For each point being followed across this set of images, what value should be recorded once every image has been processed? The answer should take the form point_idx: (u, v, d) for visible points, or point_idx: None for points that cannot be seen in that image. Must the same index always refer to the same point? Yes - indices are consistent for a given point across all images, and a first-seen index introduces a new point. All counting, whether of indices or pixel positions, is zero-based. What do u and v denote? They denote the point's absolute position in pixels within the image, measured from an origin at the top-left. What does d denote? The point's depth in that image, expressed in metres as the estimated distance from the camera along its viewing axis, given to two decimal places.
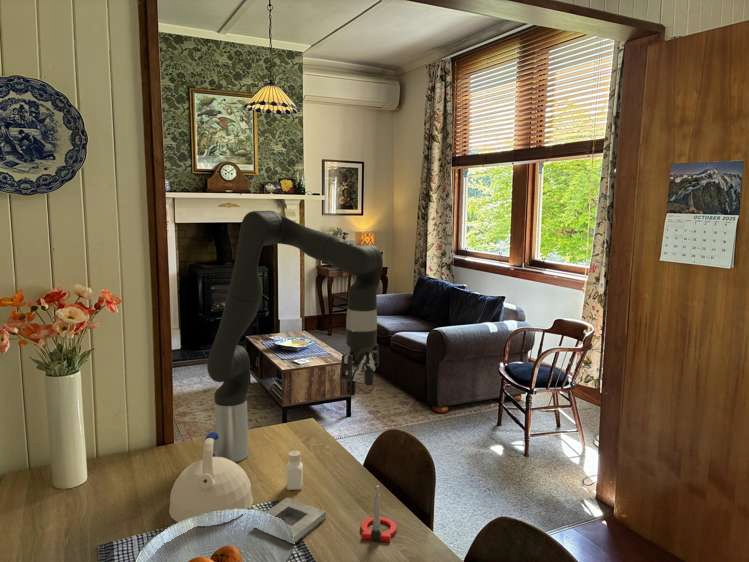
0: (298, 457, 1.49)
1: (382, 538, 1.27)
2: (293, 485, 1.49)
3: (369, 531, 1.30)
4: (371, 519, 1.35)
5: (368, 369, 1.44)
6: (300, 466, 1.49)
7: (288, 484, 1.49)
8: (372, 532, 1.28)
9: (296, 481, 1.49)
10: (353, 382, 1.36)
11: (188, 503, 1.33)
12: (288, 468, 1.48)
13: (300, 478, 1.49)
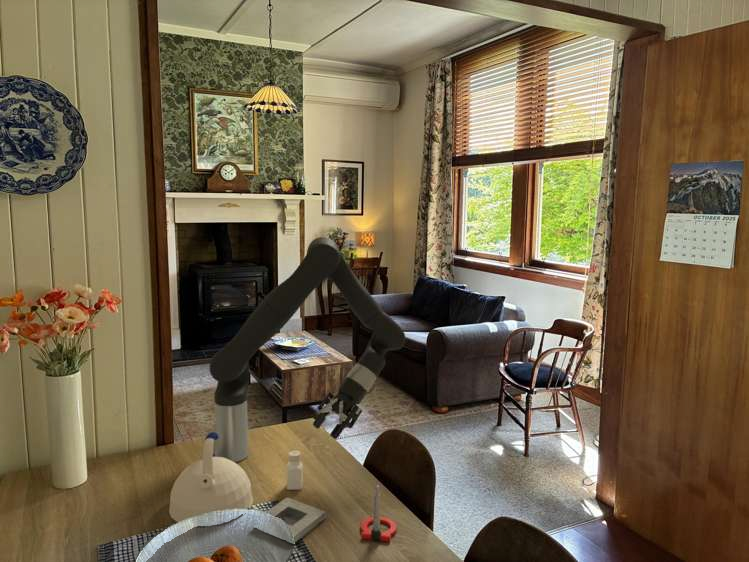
0: (298, 457, 1.49)
1: (382, 538, 1.27)
2: (293, 485, 1.49)
3: (369, 531, 1.30)
4: (371, 519, 1.35)
5: (323, 414, 1.60)
6: (300, 466, 1.49)
7: (288, 484, 1.49)
8: (372, 532, 1.28)
9: (296, 481, 1.49)
10: None
11: (188, 503, 1.33)
12: (288, 468, 1.48)
13: (300, 478, 1.49)
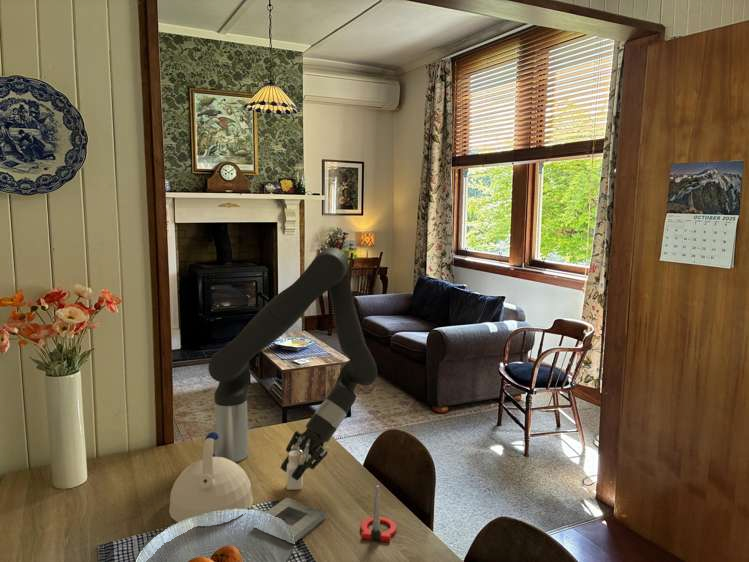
0: (298, 457, 1.49)
1: (382, 538, 1.27)
2: (293, 485, 1.49)
3: (369, 531, 1.30)
4: (371, 519, 1.35)
5: None
6: None
7: (288, 484, 1.49)
8: (372, 532, 1.28)
9: (296, 481, 1.49)
10: None
11: (188, 503, 1.33)
12: (288, 468, 1.48)
13: (300, 478, 1.49)
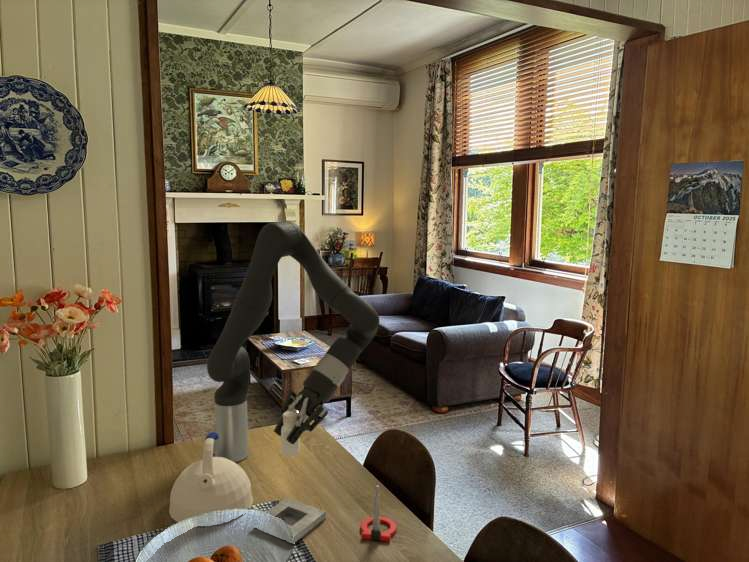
0: (294, 418, 1.29)
1: (382, 538, 1.27)
2: (288, 450, 1.30)
3: (369, 531, 1.30)
4: (371, 519, 1.35)
5: None
6: None
7: (283, 449, 1.30)
8: (372, 532, 1.28)
9: (292, 445, 1.29)
10: None
11: (188, 503, 1.33)
12: (283, 431, 1.29)
13: (297, 442, 1.30)
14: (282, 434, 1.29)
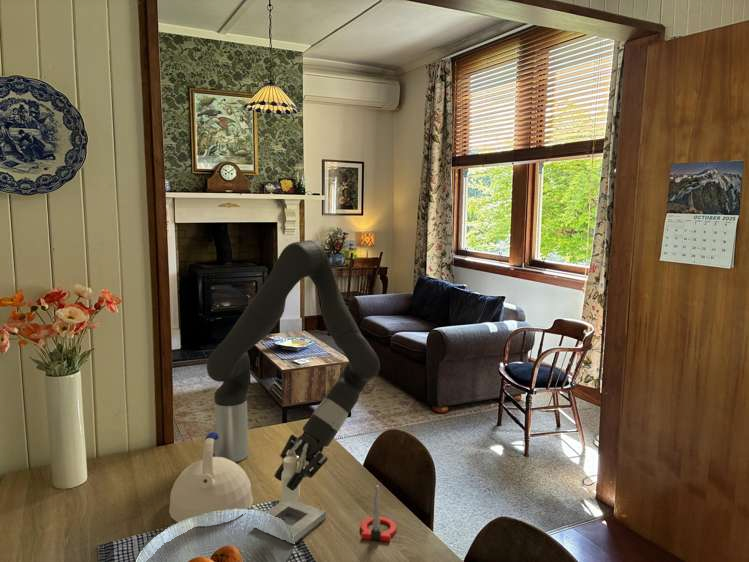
0: (294, 464, 1.31)
1: (382, 538, 1.28)
2: (288, 496, 1.31)
3: (369, 531, 1.30)
4: (371, 519, 1.35)
5: None
6: None
7: (283, 495, 1.31)
8: (372, 532, 1.28)
9: (292, 491, 1.31)
10: None
11: (188, 503, 1.33)
12: (283, 477, 1.30)
13: (297, 488, 1.31)
14: (282, 480, 1.31)
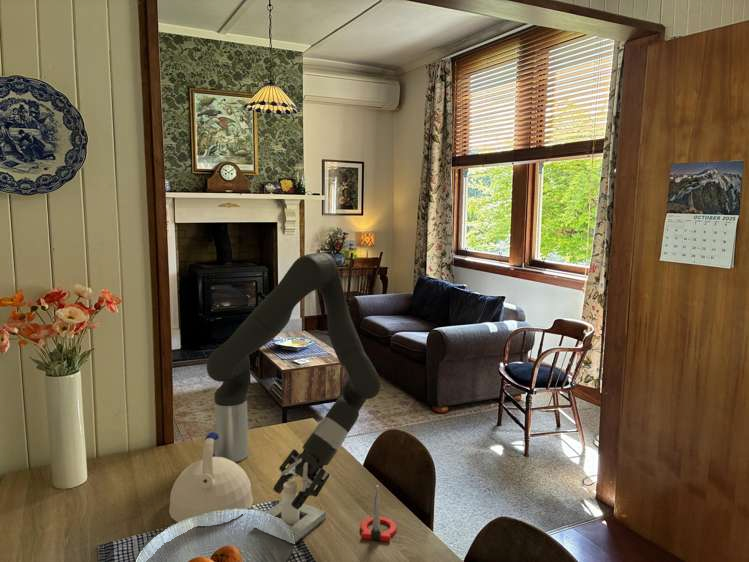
0: (294, 488, 1.32)
1: (382, 538, 1.28)
2: (288, 520, 1.32)
3: (369, 531, 1.30)
4: (371, 519, 1.35)
5: (286, 476, 1.37)
6: None
7: (283, 519, 1.32)
8: (372, 532, 1.28)
9: (292, 516, 1.32)
10: None
11: (188, 503, 1.33)
12: (283, 502, 1.32)
13: (297, 512, 1.32)
14: (282, 505, 1.32)
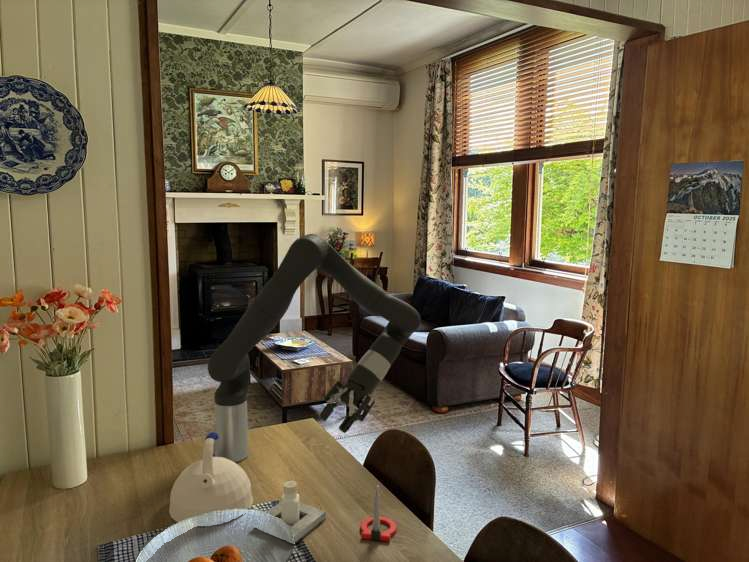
0: (294, 489, 1.32)
1: (382, 538, 1.28)
2: (288, 520, 1.32)
3: (369, 531, 1.30)
4: (371, 519, 1.35)
5: (331, 405, 1.44)
6: (297, 499, 1.33)
7: (283, 519, 1.32)
8: (372, 532, 1.28)
9: (292, 516, 1.32)
10: None
11: (188, 503, 1.33)
12: (283, 502, 1.32)
13: (297, 512, 1.32)
14: (282, 505, 1.32)
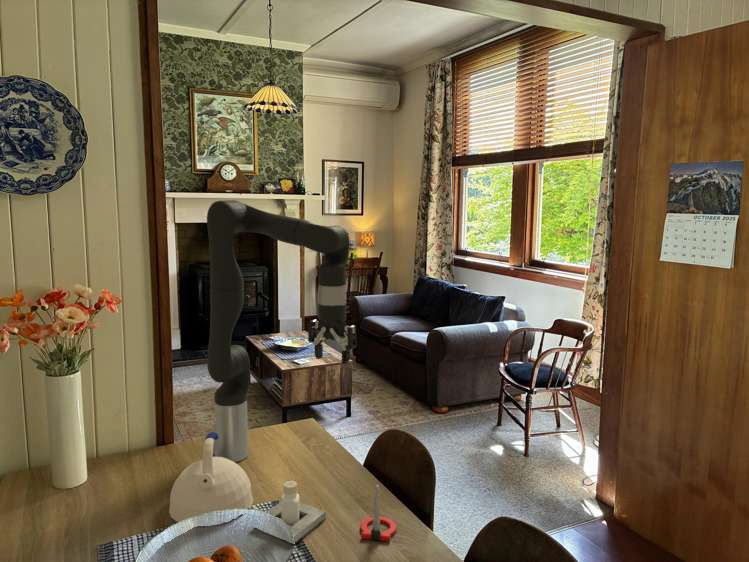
0: (294, 489, 1.32)
1: (382, 538, 1.28)
2: (288, 520, 1.32)
3: (369, 531, 1.30)
4: (371, 519, 1.35)
5: (319, 343, 1.53)
6: (297, 499, 1.33)
7: (283, 519, 1.32)
8: (372, 532, 1.28)
9: (292, 516, 1.32)
10: None
11: (188, 503, 1.33)
12: (283, 502, 1.32)
13: (297, 512, 1.32)
14: (282, 505, 1.32)
